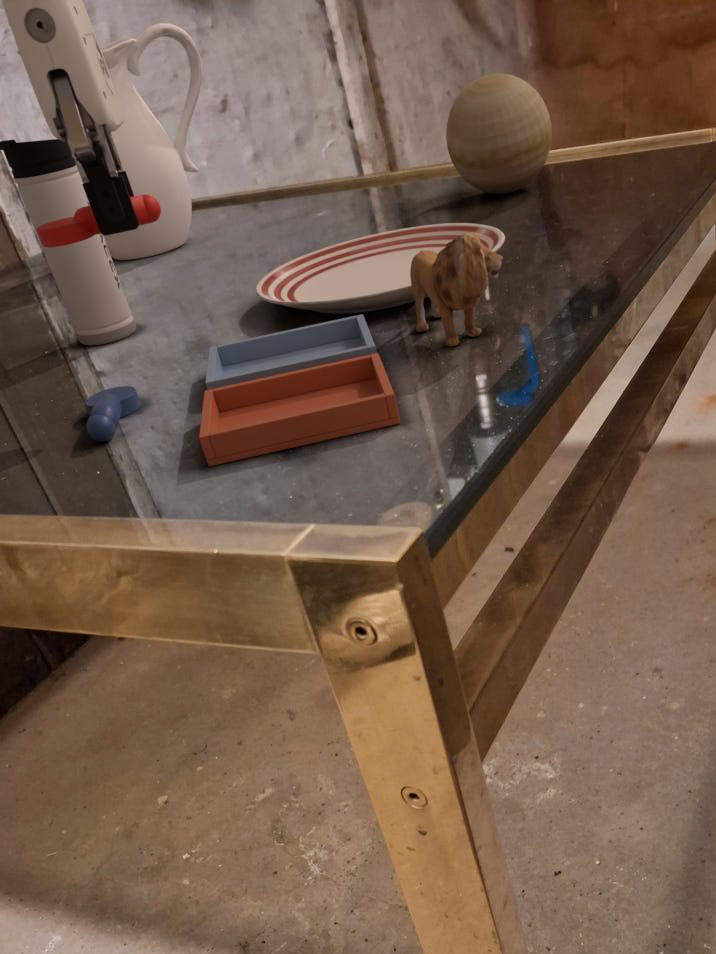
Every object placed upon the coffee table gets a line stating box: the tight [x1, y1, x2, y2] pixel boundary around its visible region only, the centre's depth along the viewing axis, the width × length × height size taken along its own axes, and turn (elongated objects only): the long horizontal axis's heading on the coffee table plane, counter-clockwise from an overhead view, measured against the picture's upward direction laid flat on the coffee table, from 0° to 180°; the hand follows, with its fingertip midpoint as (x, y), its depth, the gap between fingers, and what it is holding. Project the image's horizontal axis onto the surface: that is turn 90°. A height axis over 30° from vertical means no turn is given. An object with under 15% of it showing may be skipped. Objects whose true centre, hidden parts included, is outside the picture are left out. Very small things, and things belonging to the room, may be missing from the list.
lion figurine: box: [406, 233, 504, 347], centre depth 82 cm, size 15×5×9 cm, turn 35°
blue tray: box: [204, 314, 378, 390], centre depth 81 cm, size 14×10×2 cm
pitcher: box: [16, 22, 203, 261], centre depth 133 cm, size 24×17×28 cm
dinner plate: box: [255, 222, 506, 314], centre depth 100 cm, size 28×27×3 cm
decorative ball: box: [445, 72, 553, 195], centre depth 130 cm, size 15×15×15 cm
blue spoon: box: [84, 385, 142, 443], centre depth 78 cm, size 10×4×2 cm, turn 12°
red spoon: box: [36, 194, 161, 247], centre depth 77 cm, size 10×4×2 cm, turn 103°
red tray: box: [198, 352, 401, 467], centre depth 71 cm, size 14×10×2 cm
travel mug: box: [0, 138, 138, 347], centre depth 96 cm, size 6×7×20 cm
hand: (122, 226), depth 78 cm, fingers closed on red spoon, 2 cm apart
